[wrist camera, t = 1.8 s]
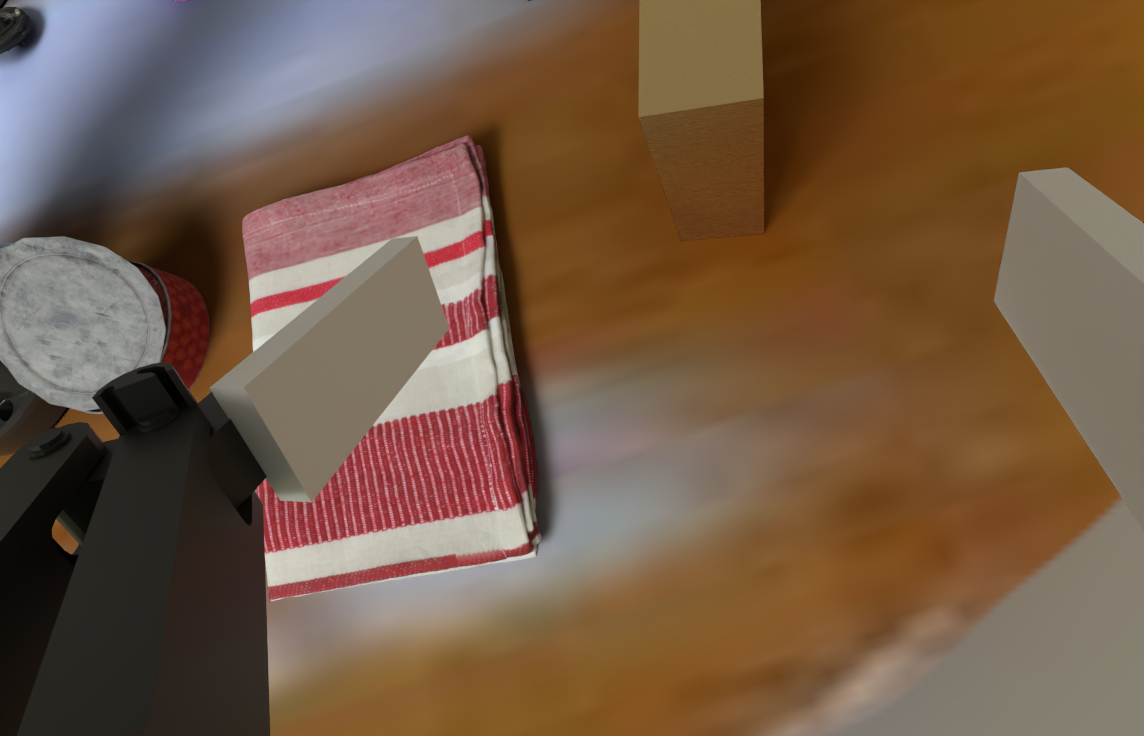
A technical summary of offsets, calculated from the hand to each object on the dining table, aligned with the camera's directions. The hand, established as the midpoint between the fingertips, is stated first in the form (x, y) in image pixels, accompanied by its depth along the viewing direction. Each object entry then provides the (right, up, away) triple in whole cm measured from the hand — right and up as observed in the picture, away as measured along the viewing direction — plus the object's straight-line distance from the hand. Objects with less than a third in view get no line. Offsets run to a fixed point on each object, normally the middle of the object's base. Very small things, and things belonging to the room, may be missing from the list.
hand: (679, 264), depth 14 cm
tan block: (+5, +8, +17) cm, 19 cm away
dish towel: (-13, -2, +21) cm, 25 cm away
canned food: (-30, -1, +27) cm, 40 cm away
